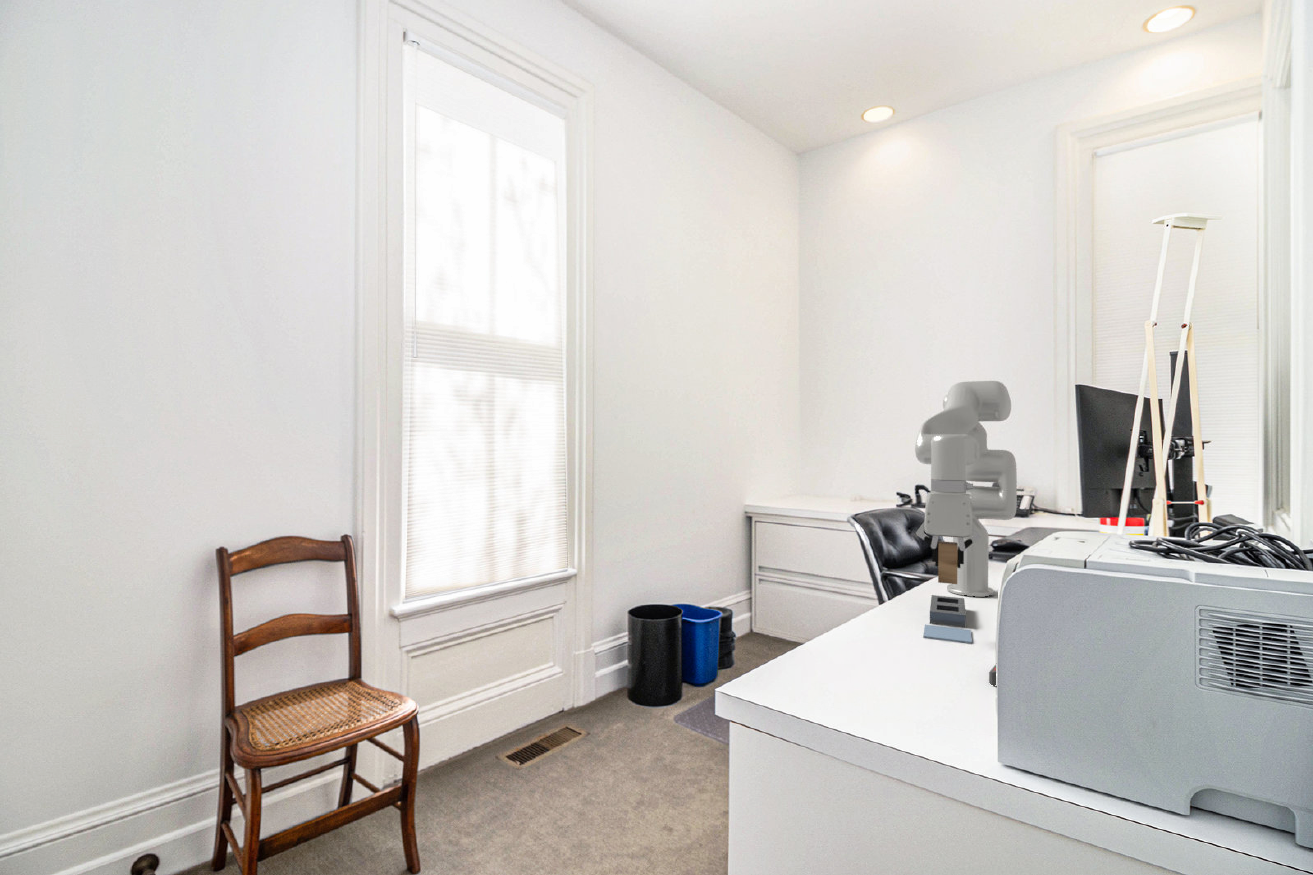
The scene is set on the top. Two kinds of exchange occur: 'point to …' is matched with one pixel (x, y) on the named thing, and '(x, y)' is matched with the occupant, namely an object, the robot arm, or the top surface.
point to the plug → (947, 562)
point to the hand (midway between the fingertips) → (947, 565)
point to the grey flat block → (947, 611)
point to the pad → (947, 634)
